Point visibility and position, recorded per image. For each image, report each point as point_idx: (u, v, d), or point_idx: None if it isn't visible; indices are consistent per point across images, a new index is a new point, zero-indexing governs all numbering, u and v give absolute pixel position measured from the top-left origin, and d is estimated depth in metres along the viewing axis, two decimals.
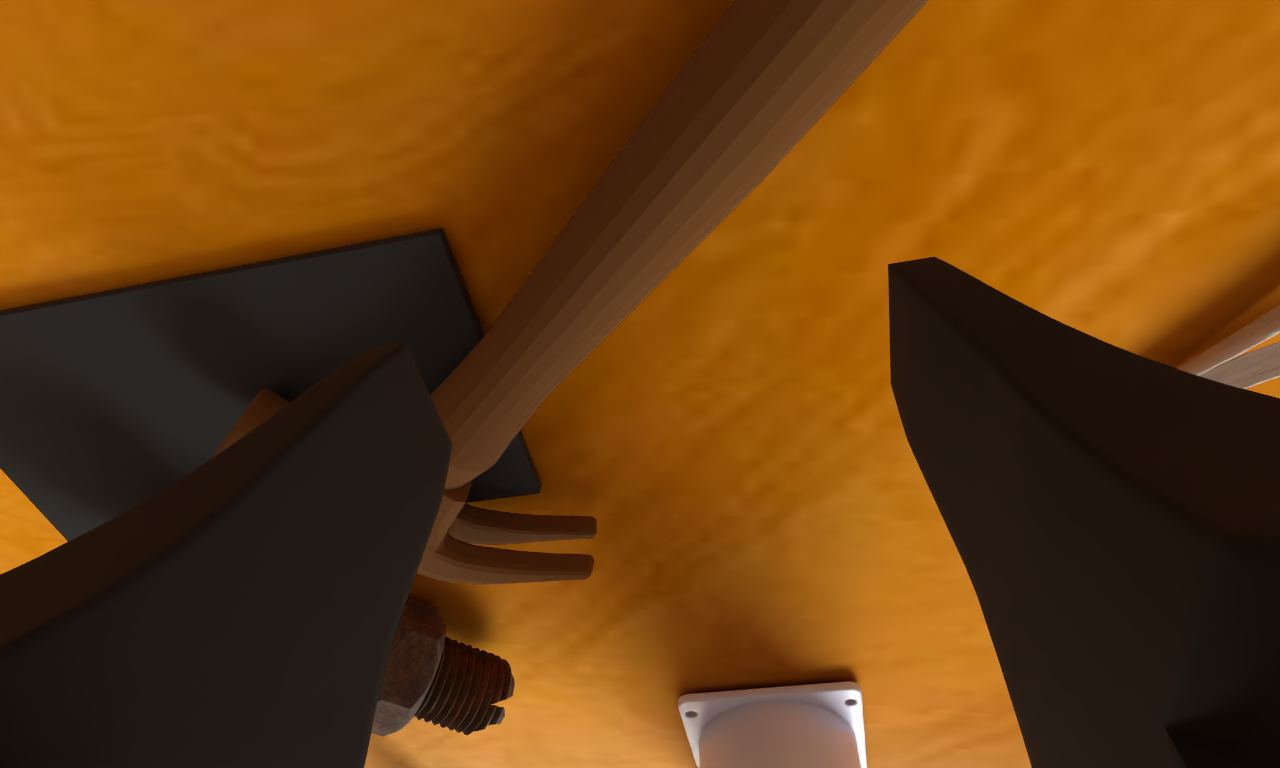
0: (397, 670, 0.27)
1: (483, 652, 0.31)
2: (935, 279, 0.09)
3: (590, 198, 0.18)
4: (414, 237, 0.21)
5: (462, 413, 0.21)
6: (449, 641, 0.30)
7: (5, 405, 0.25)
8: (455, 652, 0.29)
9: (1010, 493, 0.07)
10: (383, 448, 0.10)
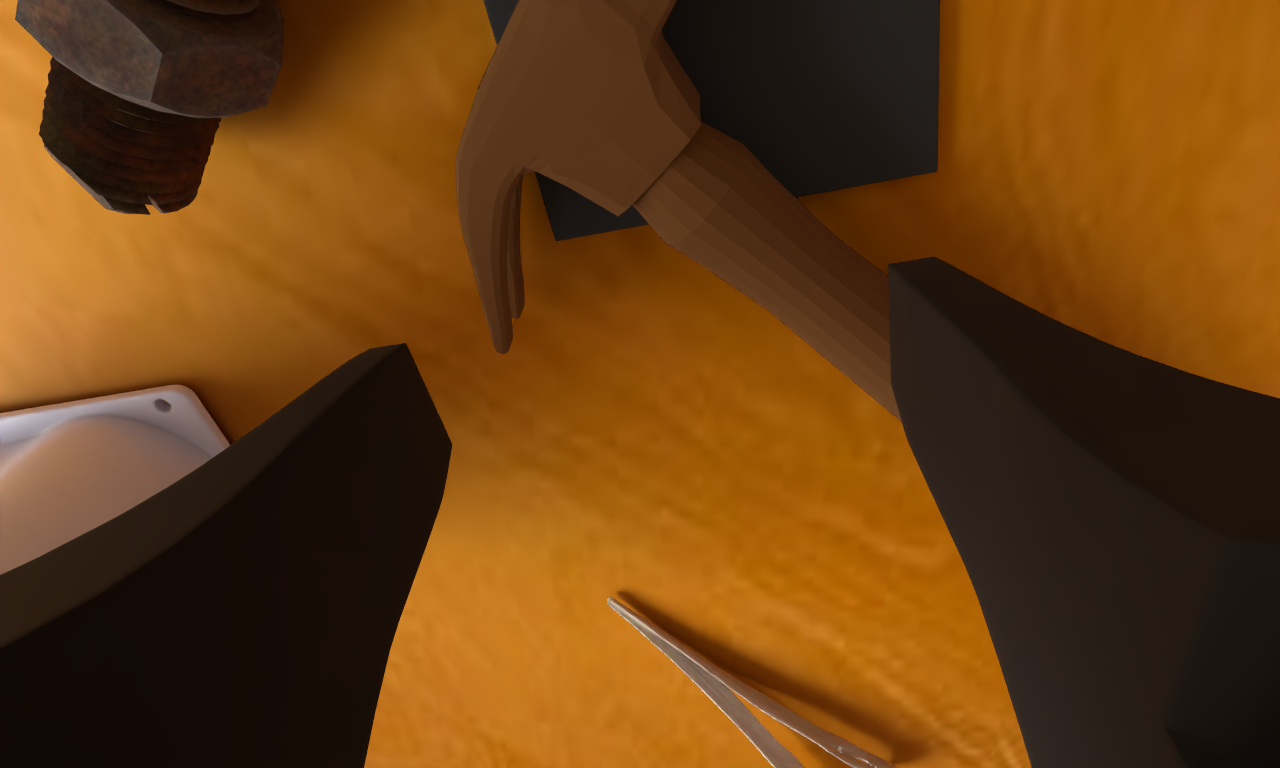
0: (217, 63, 0.15)
1: None
2: (935, 279, 0.09)
3: None
4: None
5: (776, 239, 0.17)
6: None
7: None
8: None
9: (1010, 493, 0.07)
10: (383, 448, 0.10)
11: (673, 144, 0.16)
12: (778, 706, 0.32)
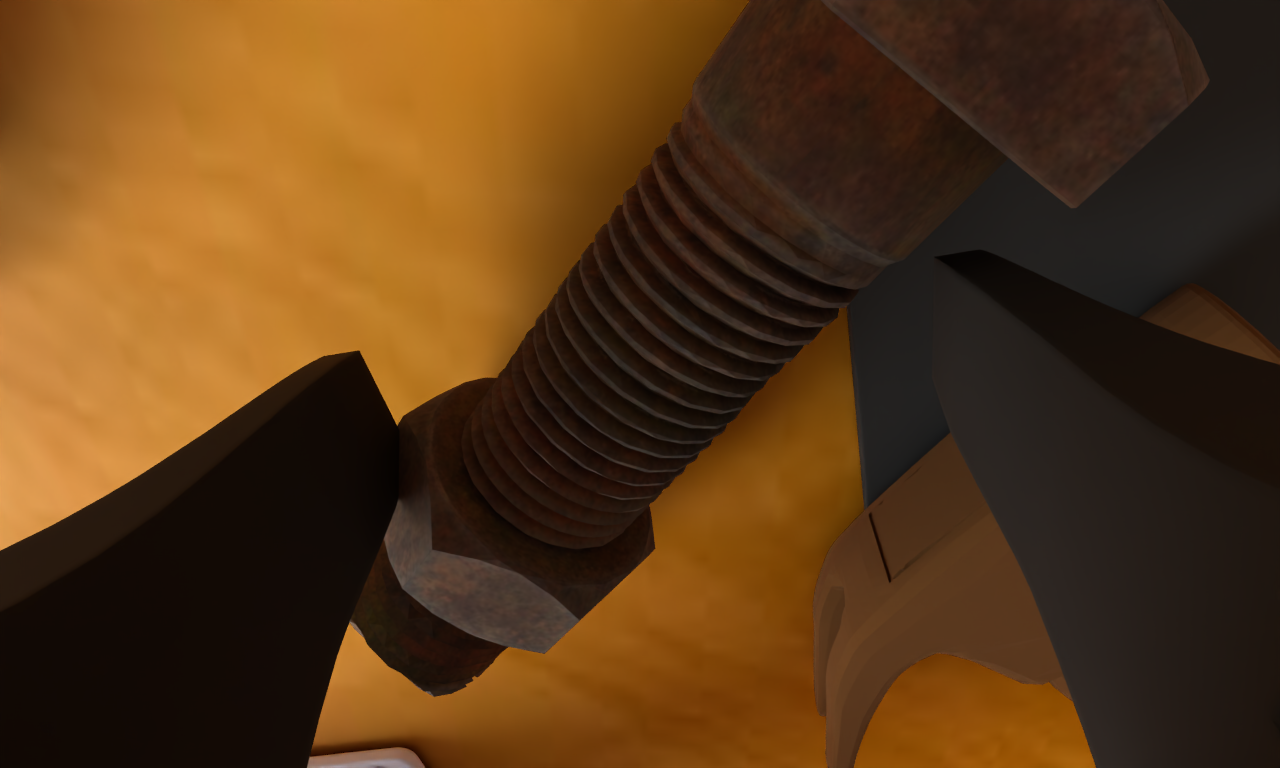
0: None
1: None
2: (988, 270, 0.09)
3: None
4: None
5: None
6: None
7: None
8: None
9: (1078, 485, 0.07)
10: (332, 455, 0.10)
11: None
12: None
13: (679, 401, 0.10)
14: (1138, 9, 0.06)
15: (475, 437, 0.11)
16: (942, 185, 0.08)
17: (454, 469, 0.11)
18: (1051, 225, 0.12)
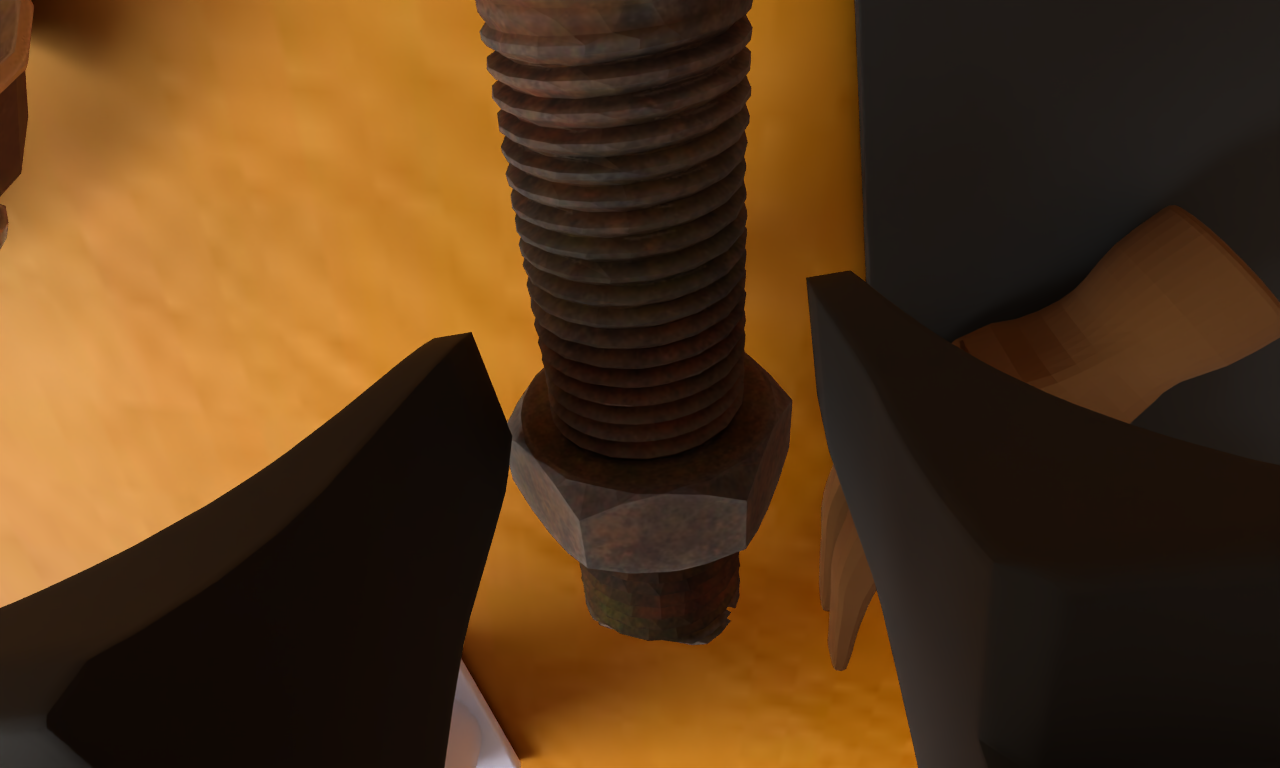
0: (768, 458, 0.12)
1: None
2: (843, 293, 0.09)
3: None
4: None
5: None
6: None
7: None
8: None
9: (889, 506, 0.07)
10: (455, 438, 0.10)
11: None
12: None
13: (663, 250, 0.09)
14: None
15: (557, 409, 0.12)
16: None
17: (560, 446, 0.12)
18: (1050, 151, 0.13)
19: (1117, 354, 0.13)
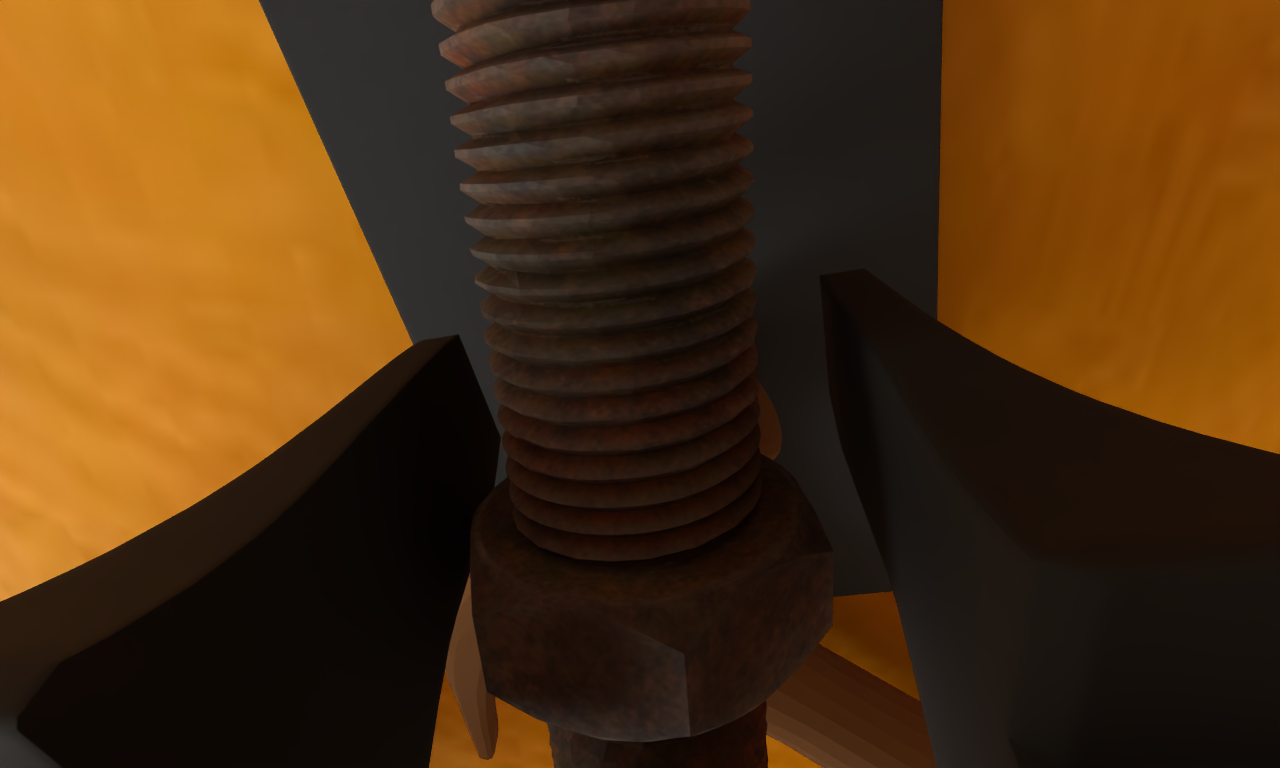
0: (755, 612, 0.08)
1: None
2: (858, 291, 0.09)
3: None
4: None
5: (772, 697, 0.16)
6: None
7: None
8: None
9: (909, 504, 0.07)
10: (441, 440, 0.10)
11: None
12: None
13: (576, 256, 0.07)
14: None
15: None
16: None
17: (504, 526, 0.09)
18: None
19: None
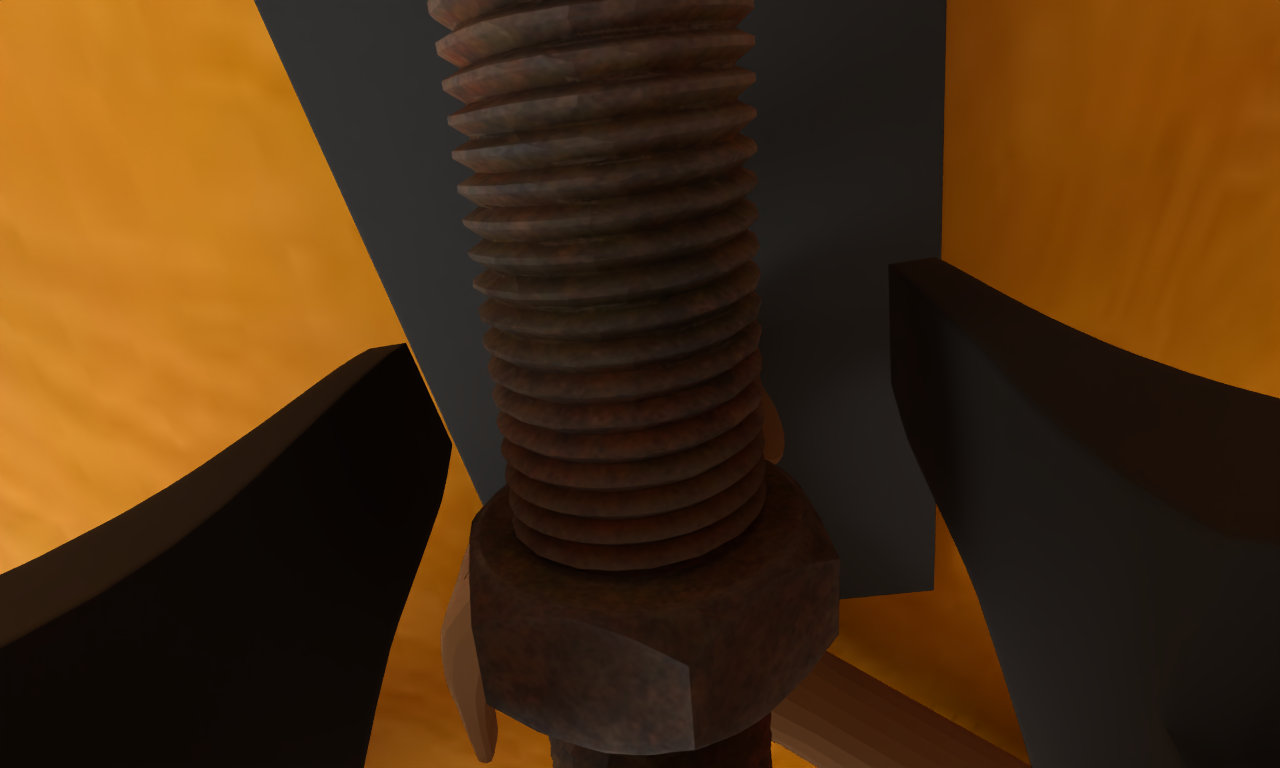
0: (761, 622, 0.08)
1: None
2: (936, 279, 0.09)
3: None
4: None
5: None
6: None
7: None
8: None
9: (1010, 493, 0.07)
10: (383, 448, 0.10)
11: None
12: None
13: (577, 260, 0.07)
14: None
15: None
16: None
17: (504, 534, 0.09)
18: None
19: None
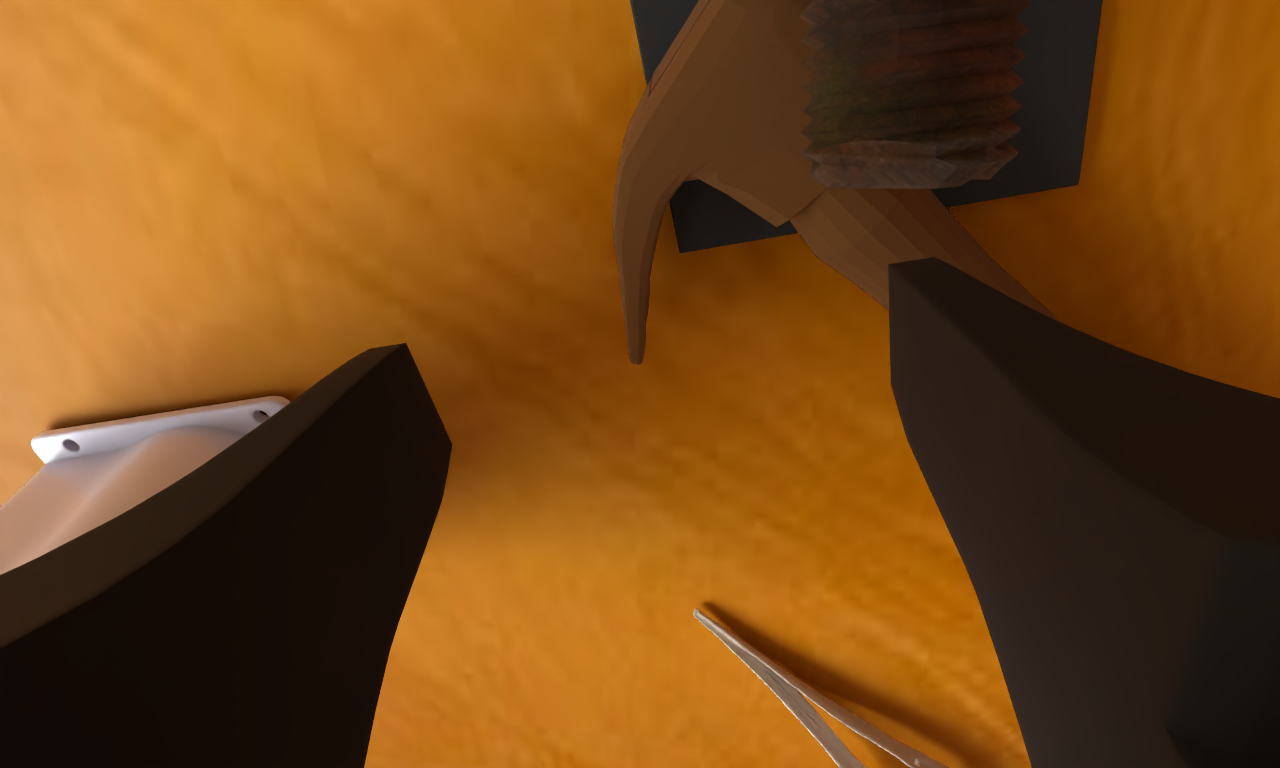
0: None
1: None
2: (935, 279, 0.09)
3: None
4: (1082, 155, 0.18)
5: (936, 255, 0.17)
6: None
7: None
8: None
9: (1010, 493, 0.07)
10: (383, 448, 0.10)
11: None
12: (857, 718, 0.32)
13: None
14: None
15: None
16: None
17: None
18: None
19: None
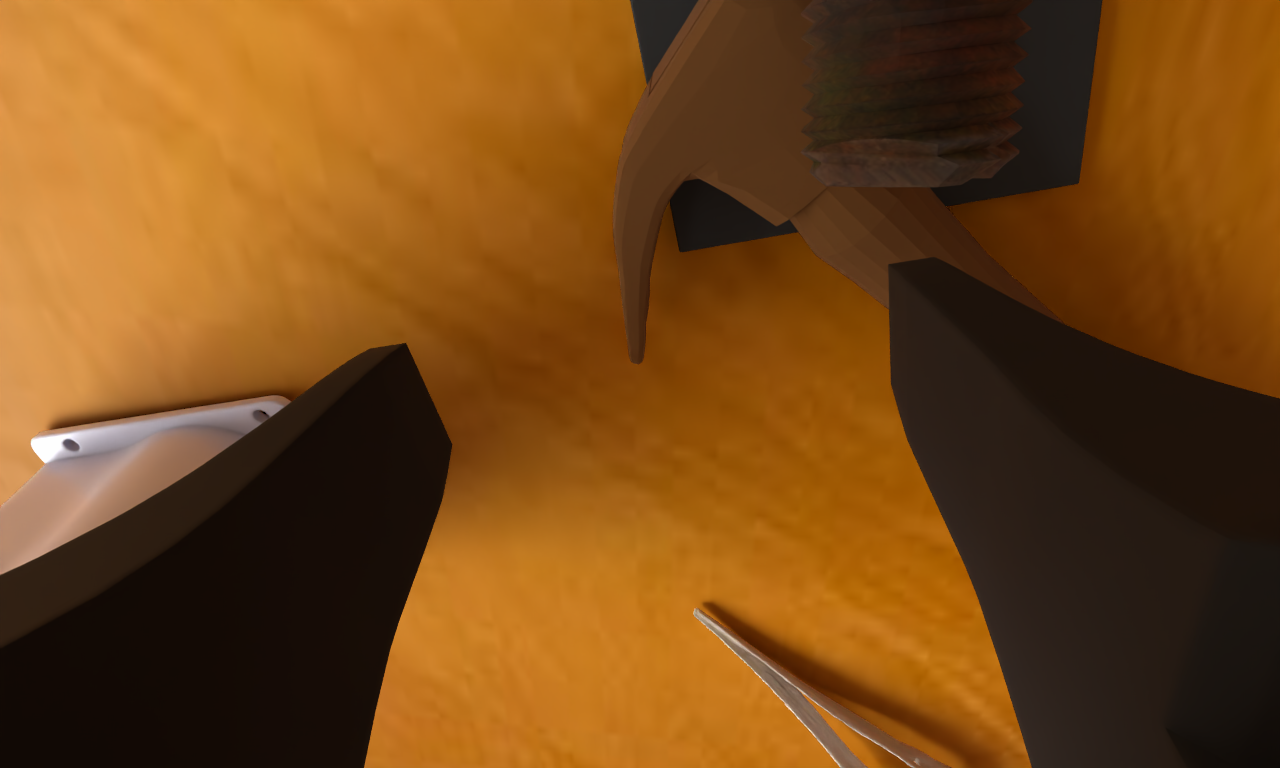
0: None
1: None
2: (936, 279, 0.09)
3: None
4: (1082, 154, 0.18)
5: (936, 253, 0.17)
6: None
7: None
8: None
9: (1010, 493, 0.07)
10: (383, 448, 0.10)
11: None
12: (857, 718, 0.32)
13: None
14: None
15: None
16: None
17: None
18: None
19: None
